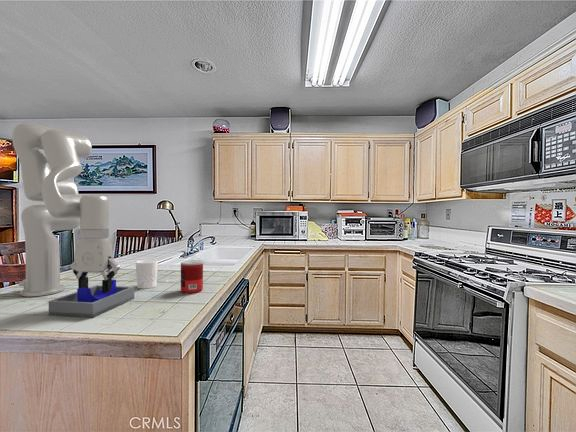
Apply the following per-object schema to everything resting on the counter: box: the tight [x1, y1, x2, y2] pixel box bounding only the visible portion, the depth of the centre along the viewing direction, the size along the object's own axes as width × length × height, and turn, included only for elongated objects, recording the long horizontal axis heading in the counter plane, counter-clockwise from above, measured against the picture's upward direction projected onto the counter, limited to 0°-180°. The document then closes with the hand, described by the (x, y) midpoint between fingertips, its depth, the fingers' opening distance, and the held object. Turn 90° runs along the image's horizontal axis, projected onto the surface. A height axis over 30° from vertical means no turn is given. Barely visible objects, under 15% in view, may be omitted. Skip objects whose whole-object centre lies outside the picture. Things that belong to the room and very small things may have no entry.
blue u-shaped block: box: [76, 279, 117, 303], centre depth 93 cm, size 12×4×6 cm, turn 171°
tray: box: [48, 284, 135, 319], centre depth 93 cm, size 14×18×4 cm
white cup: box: [135, 259, 159, 290], centre depth 116 cm, size 8×8×10 cm
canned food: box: [180, 259, 204, 295], centre depth 111 cm, size 8×8×11 cm
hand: (95, 290), depth 93 cm, fingers open, 7 cm apart
